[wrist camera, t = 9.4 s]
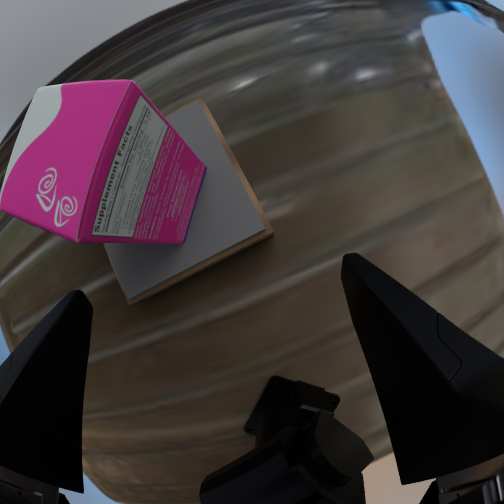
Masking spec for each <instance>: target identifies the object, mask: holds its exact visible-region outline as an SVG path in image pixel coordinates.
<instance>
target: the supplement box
mask: <svg viewBox="0 0 504 504" xmlns="http://www.w3.org/2000/svg"><path fill="white" fill-rule="evenodd" d="M206 169H207V167H206V166H205V165H204V163H203V162H202V161H201V160H200V159H199V158H198V156H197V155H196V154H195V153H194V152H193V150H192V149H191V148H190V147H189V145H188V144H187V143H186V142H185V141H184V139H183V138H182V137H181V136H180V135H179V134H178V132H177V131H176V130H175V129H174V128H173V126H172V125H171V124H170V123H169V122H168V121H167V119H166V118H165V117H164V116H163V115H162V114H161V112H160V111H159V110H158V109H157V108H156V107H155V105H154V104H153V103H152V102H151V101H150V99H149V98H148V97H147V96H146V95H145V93H144V92H143V91H142V90H141V89H140V87H139V86H138V85H137V84H136V83H135V82H134V81H133V80H97V81H82V82H74V83H65V84H59V85H53V86H46V87H40V88H38V90H37V91H36V94H35V95H34V98H33V100H32V102H31V104H30V107H29V109H28V111H27V114H26V116H25V119H24V121H23V124H22V127H21V129H20V132H19V135H18V137H17V140H16V143H15V146H14V149H13V152H12V155H11V158H10V161H9V164H8V168H7V171H6V174H5V178H4V182H3V186H2V190H1V194H0V211H2V212H4V213H6V214H9V215H11V216H13V217H15V218H18V219H20V220H22V221H24V222H26V223H29V224H31V225H34V226H36V227H39V228H41V229H43V230H46V231H48V232H51V233H53V234H56V235H58V236H60V237H63V238H65V239H68V240H70V241H73V242H75V243H147V244H184V242H185V239H186V236H187V232H188V228H189V225H190V221H191V218H192V215H193V211H194V208H195V205H196V202H197V198H198V195H199V192H200V189H201V185H202V182H203V179H204V176H205V173H206Z"/></svg>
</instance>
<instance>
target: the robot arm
mask: <svg viewBox="0 0 504 504" xmlns="http://www.w3.org/2000/svg"><path fill="white" fill-rule="evenodd" d="M341 280H342V284H343V288H344V292H345V295H346V299H347V303H348V307H349V311H350V315H351V318H352V322H353V325H354V328H355V330H356V333H357V336H358V339H359V341H360V344H361V347H362V350H363V352H364V355H365V358H366V361H367V364H368V367H369V370H370V373H371V376H372V379H373V382H374V385H375V388H376V391H377V394H378V398H379V401H380V404H381V407H382V411H383V414H384V418H385V421H386V425H387V428H388V432H389V436H390V440H391V443H392V447H393V451H394V455H395V459H396V463H397V467H398V472H399V476H400V480H401V484H402V485H406V484H411V483H416V482H421V481H425V480H429V479H434V478H436V480H435V481H433V482H432V483H431V485H430V486H429V488H428V490H427V492H426V493H425V495H424V497H423V498H422V500H421V501H420V503H419V504H504V358H502V357H500V356H499V355H497V354H496V353H494V352H493V351H491V350H490V349H489V348H487V347H486V346H484V345H483V344H481V343H480V342H478V341H477V340H475V339H474V338H472V337H471V336H470V335H468V334H467V333H465V332H464V331H463V330H461V329H460V328H458V327H457V326H456V325H454V324H453V323H452V322H450V321H449V320H448V319H446V318H445V317H444V316H443V315H441V314H440V313H439V312H438V313H437V311H436V310H435V309H434V308H432V307H431V306H430V305H428V304H427V303H426V302H424V301H423V300H422V299H421V298H419V297H418V296H417V295H415V294H414V293H413V292H411V291H410V290H408V289H407V288H406V287H404V286H403V285H402V284H400V283H399V282H398V281H396V280H395V279H393V278H392V277H391V276H389V275H388V274H386V273H385V272H384V271H382V270H381V269H379V268H378V267H377V266H375V265H374V264H372V263H371V262H369V261H368V260H366V259H365V258H364V257H362V256H361V255H359V254H358V253H349V254H345V255H344V256H343V261H342V269H341ZM92 315H93V307H92V305H91V303H90V302H89V300H88V299H87V297H86V296H85V294H84V293H83V291H81V290H73V291H71V292H69V293H68V294H67V295H66V296H65V297H64V298H63V299H62V300H61V301H60V302H59V303H58V304H57V305H56V306H55V307H54V308H53V309H52V310H51V311H50V312H49V313H48V314H47V315H46V316H45V317H44V318H43V319H42V320H41V321H40V322H39V323H38V324H37V325H36V327H35V328H34V329H33V330H32V331H31V332H30V333H29V334H28V335H27V336H26V337H25V338H24V340H23V341H22V342H21V343H20V344H19V345H18V346H17V347H16V348H15V350H14V351H13V352H12V353H11V354H10V355H9V357H8V358H7V359H6V360H5V361H4V362H3V364H2V365H1V366H0V504H70V503H69V501H68V500H67V498H66V497H65V495H64V494H62V493H59V488H63V489H66V490H70V491H74V492H78V493H84V487H83V486H84V485H83V469H82V447H81V446H82V417H83V401H84V389H85V379H86V371H87V363H88V356H89V349H90V337H91V325H92ZM274 380H277V381H278V383H273V381H274ZM333 399H336V400H335V401H332V400H333ZM339 402H340V398H339V396H338V395H336V394H333V393H329V392H326V391H325V389H324V388H320V387H317V386H314V385H311V384H308V383H305V382H302V381H296V382H294V381H291V380H288V379H285V378H282V377H280V376H272V377H271V378H270V379H269V381H268V383H267V385H266V387H265V389H264V391H263V393H262V395H261V397H260V399H259V400H258V402H257V404H256V406H255V408H254V410H253V412H252V413H251V415H250V417H249V419H248V421H247V422H246V424H245V427H244V431H245V432H247V433H249V434H252V435H255V436H256V445H255V449H253V450H251V451H250V452H248V453H246V454H245V455H243V456H241V457H240V458H238V459H236V460H235V461H233V462H231V463H229V464H228V465H226V466H224V467H222V468H220V469H218V470H217V471H215V472H213V473H211V474H209V475H208V476H206V478H205V479H204V481H203V482H202V484H201V488H200V495H199V496H200V501H201V504H366V500H365V490H364V481H363V475H362V473H361V472H362V471H363V470H364V469H365V468H366V467H367V466H368V465H369V464H370V463H371V462H372V461H373V460H374V457H373V455H372V453H371V452H370V450H369V449H368V447H367V446H366V444H365V443H364V441H363V440H362V439H361V438H360V437H359V436H357V435H356V434H355V433H353V432H352V431H351V430H349V429H348V428H347V427H345V426H344V425H343V424H341V423H340V422H339V421H338V420H336V419H335V418H334V417H333V416H334V413H333V412H334V410H335V409H336V407H337V406H338V404H339ZM249 427H250V428H252V429H248V428H249Z"/></svg>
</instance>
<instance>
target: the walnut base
mask: <svg viewBox="0 0 504 504" xmlns="http://www.w3.org/2000/svg"><path fill="white" fill-rule="evenodd" d="M165 118H166V119H167V121H168V122H169V123H170V124H171V125H172V126H173V128H174V129H175V130H176V131H177V132H178V134H179V135H180V136H181V137H182V138H183V139H184V141H185V142H186V143H187V144H188V145H189V147H190V148H191V149H192V150H193V152H194V153H195V154H196V155H197V156H198V158H199V159H200V160H201V161H202V162H203V163H204V165H205V166H206V167H207V169H206V173H205V176H204V179H203V182H202V185H201V189H200V192H199V195H198V198H197V202H196V205H195V208H194V211H193V215H192V218H191V221H190V225H189V228H188V232H187V236H186V239H185V242H184V244H147V243H103V244H104V247H105V250H106V252H107V255H108V258H109V260H110V263H111V265H112V267H113V270H114V272H115V275H116V277H117V279H118V282H119V284H120V286H121V289H122V291H123V293H124V295H125V297H126V300H127V302H128V304H129V306H130V305H132V304H135V303H138V302H140V301H143V300H145V299H147V298H149V297H151V296H153V295H155V294H157V293H159V292H161V291H163V290H165V289H167V288H169V287H170V286H172V285H174V284H176V283H178V282H180V281H182V280H184V279H186V278H188V277H190V276H192V275H194V274H196V273H198V272H200V271H202V270H204V269H206V268H208V267H210V266H212V265H214V264H216V263H218V262H220V261H221V260H223V259H225V258H227V257H229V256H231V255H233V254H235V253H237V252H239V251H241V250H243V249H245V248H247V247H249V246H251V245H253V244H255V243H257V242H259V241H261V240H263V239H265V238H267V237H269V236H271V235H273V234H274V231H273V229H272V227H271V225H270V223H269V221H268V219H267V217H266V215H265V214H264V212H263V210H262V208H261V206H260V204H259V202H258V200H257V198H256V196H255V194H254V192H253V190H252V189H251V187H250V185H249V183H248V181H247V179H246V177H245V175H244V173H243V172H242V170H241V168H240V166H239V164H238V162H237V160H236V158H235V157H234V155H233V153H232V151H231V149H230V147H229V146H228V144H227V142H226V140H225V138H224V136H223V135H222V133H221V131H220V129H219V127H218V126H217V124H216V122H215V120H214V118H213V117H212V115H211V113H210V111H209V109H208V108H207V106H206V104H205V102H204V100H203V99H202V97H200V98H198V99H197V100H195V101H193V102H191V103H189V104H187V105H185V106H183V107H181V108H179V109H178V110H176V111H174V112H172V113H170V114H169V115H167V116H165Z"/></svg>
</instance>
